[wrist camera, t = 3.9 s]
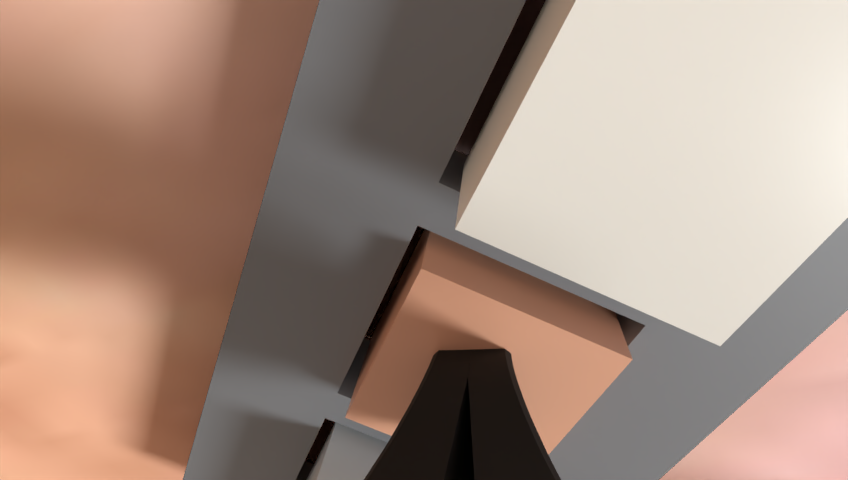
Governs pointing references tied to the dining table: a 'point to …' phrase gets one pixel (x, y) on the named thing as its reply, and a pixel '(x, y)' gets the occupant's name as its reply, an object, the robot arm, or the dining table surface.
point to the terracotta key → (488, 338)
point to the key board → (437, 212)
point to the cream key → (669, 151)
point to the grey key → (346, 455)
